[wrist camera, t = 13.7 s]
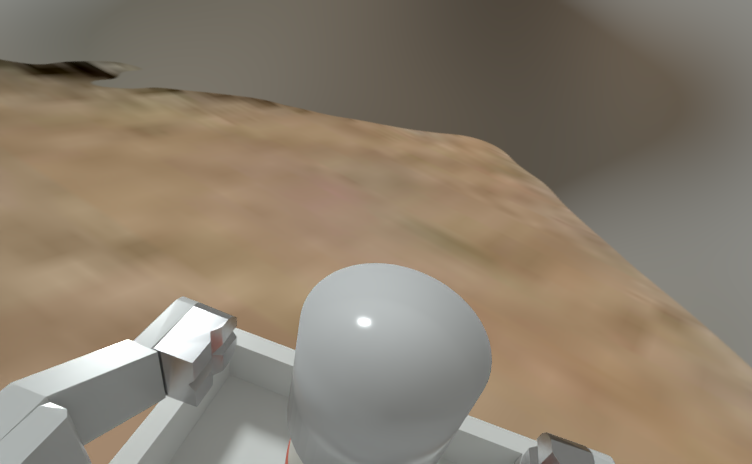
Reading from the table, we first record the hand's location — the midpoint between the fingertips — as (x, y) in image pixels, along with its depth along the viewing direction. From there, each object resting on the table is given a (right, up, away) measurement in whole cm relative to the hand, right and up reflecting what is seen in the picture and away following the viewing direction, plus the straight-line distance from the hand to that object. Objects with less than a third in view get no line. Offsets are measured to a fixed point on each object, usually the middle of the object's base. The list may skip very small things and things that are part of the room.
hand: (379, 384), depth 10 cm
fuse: (-2, -8, +4) cm, 9 cm away
